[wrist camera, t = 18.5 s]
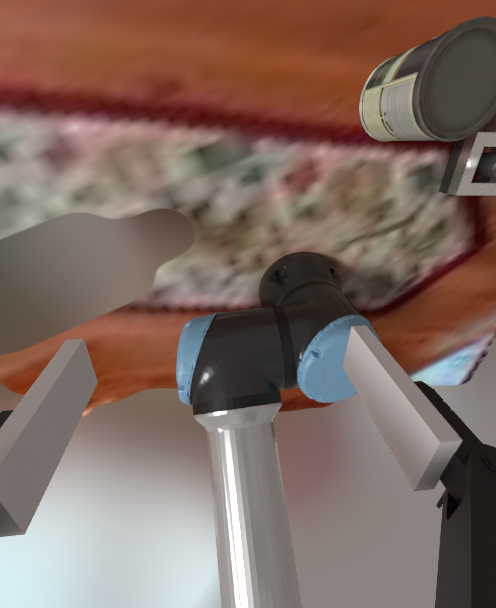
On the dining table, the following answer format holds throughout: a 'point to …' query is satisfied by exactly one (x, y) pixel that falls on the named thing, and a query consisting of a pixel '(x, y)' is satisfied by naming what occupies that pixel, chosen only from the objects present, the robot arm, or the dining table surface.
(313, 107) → the dining table surface
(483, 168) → the pin
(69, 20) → the dining table surface
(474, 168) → the grey flat branched piece
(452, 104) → the coffee can
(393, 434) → the robot arm
